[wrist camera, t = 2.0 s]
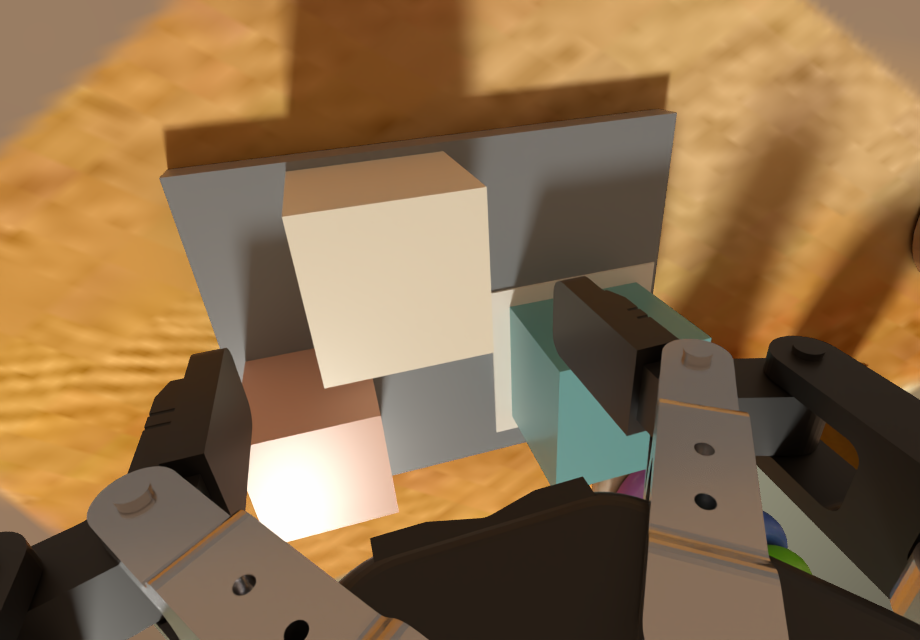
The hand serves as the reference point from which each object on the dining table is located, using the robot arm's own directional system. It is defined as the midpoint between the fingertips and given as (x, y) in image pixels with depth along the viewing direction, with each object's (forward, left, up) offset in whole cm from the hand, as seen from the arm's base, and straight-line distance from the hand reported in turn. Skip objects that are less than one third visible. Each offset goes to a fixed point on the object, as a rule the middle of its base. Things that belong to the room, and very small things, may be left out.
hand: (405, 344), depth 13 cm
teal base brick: (-8, +7, -7) cm, 13 cm away
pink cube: (+3, +6, -8) cm, 10 cm away
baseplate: (-3, +4, -9) cm, 10 cm away
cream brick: (0, 0, -8) cm, 8 cm away
